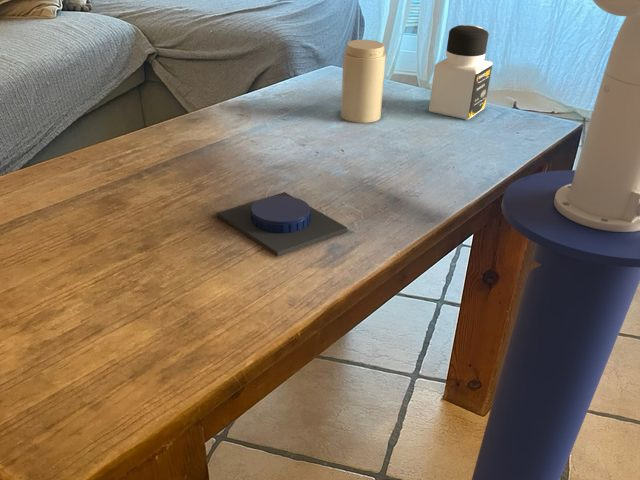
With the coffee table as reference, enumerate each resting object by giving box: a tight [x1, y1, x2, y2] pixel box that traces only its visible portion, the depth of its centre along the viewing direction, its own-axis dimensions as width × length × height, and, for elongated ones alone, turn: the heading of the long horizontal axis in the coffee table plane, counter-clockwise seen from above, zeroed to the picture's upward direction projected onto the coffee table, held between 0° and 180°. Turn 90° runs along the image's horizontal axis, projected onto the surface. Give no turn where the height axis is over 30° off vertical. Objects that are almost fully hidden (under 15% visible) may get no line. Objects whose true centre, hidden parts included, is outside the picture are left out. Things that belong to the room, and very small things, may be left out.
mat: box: [216, 191, 348, 257], centre depth 77 cm, size 12×10×1 cm
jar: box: [340, 39, 387, 124], centre depth 102 cm, size 6×6×10 cm
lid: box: [251, 195, 311, 233], centre depth 76 cm, size 7×7×1 cm
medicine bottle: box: [428, 24, 493, 121], centre depth 105 cm, size 7×7×12 cm
